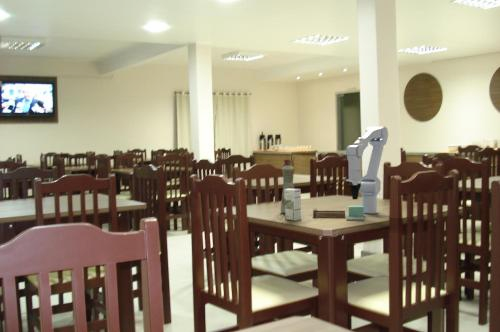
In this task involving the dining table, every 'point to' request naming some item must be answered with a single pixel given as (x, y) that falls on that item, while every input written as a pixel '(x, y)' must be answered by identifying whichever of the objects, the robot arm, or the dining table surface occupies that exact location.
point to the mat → (354, 218)
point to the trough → (328, 214)
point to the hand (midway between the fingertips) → (354, 198)
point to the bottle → (287, 180)
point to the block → (356, 211)
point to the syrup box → (292, 204)
